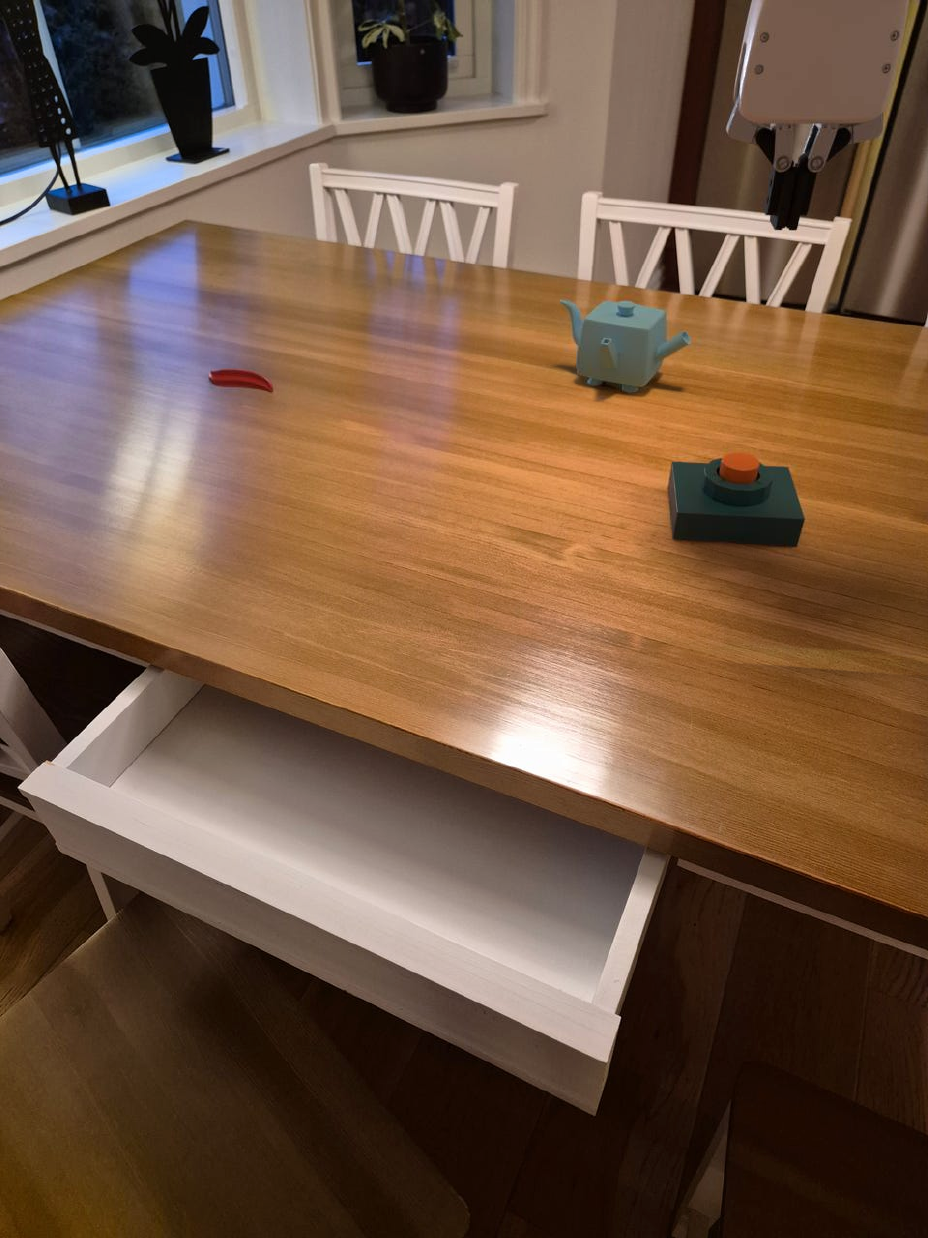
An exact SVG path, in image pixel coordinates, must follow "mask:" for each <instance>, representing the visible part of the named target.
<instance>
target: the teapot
mask: <svg viewBox="0 0 928 1238" xmlns="http://www.w3.org/2000/svg"><path fill="white" fill-rule="evenodd" d="M559 303H560V304H562V305H563V306H564V307H565V308H566V309H567V312H568V314H569V317H570V327H571V334H572V338H573V341H574V343H575V344H576V345H577V351H576V360H575V366H576V372H577V375H579V376H582V377H585V378H589V379H588V380H587V384H588V385H590V386H593V387H594V386H601V385H602V384H603V383H604V382H608V383H613V384H620V385H621V386H622V387H621V389H622V391H623V392H625V393H637V392H638V391H639V388H641V387H642V388H643V387H645V386H647V384H648V383H649V382H650V381H651V380H652V379H653V378H654V377H655V375H656V374H657V373H658V372H659V370H660V369H661V367H662V365H663V363H664V360H665V359H666V358H668V357H670V356H671V355H673V354H675V353H676V352H678V351H680V350H682V349H684V348H685V347H687V346H690V345H691V344H692V340H691V336H690V335H689V334H688V332H687V331H685V330H682V331H680V332H679V333H677V334H676V335H674V336H672V337H671V338H669V339H668V340H667V337H668V335H667V334H668V327H667V326H668V325H667V324H668V323H667V321H668V320H667V311H666V310H665V309H661V308H655V307H650V306H645V305H641V304H638V303H635V302H633V301H630V300H621V301H606V300H604V301H602V302H601V303H600V304H599V305H597V306H595V308H594V309H593V310H592V311H590V312H589V313H588V314H587V315H586V316H585V317H584V319H583V320H582V316H581V312H580V309H579V307H578V306H577V304H575V302H573V301H572V300H571V301H570V300H568V299H559Z"/></svg>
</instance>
